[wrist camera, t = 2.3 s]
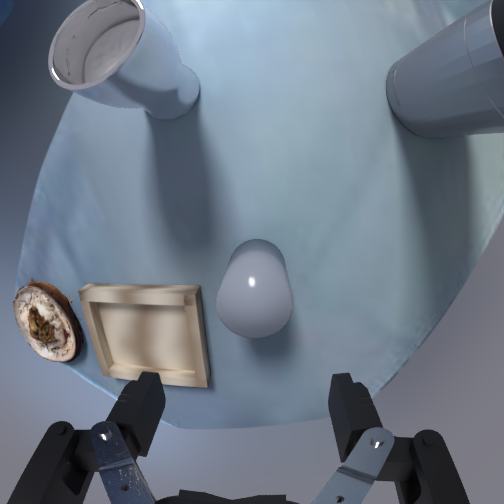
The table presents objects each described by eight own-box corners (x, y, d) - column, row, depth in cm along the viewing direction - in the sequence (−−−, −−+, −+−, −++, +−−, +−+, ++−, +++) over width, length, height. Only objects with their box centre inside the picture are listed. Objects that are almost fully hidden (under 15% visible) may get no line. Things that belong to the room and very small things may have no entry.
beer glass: (199, 125, 26) (135, 87, 12) (134, 124, 26) (35, 101, 12) (208, 60, 24) (161, -21, 10) (143, 62, 24) (62, 3, 10)
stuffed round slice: (106, 369, 36) (93, 387, 32) (36, 356, 36) (22, 369, 32) (77, 270, 32) (58, 282, 28) (7, 270, 32) (-11, 280, 28)
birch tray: (199, 285, 31) (195, 294, 28) (210, 375, 34) (207, 387, 32) (88, 283, 31) (78, 291, 29) (110, 365, 35) (103, 375, 32)
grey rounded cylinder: (284, 238, 29) (293, 269, 20) (284, 290, 30) (291, 337, 22) (228, 239, 29) (213, 270, 21) (231, 291, 31) (219, 338, 22)
